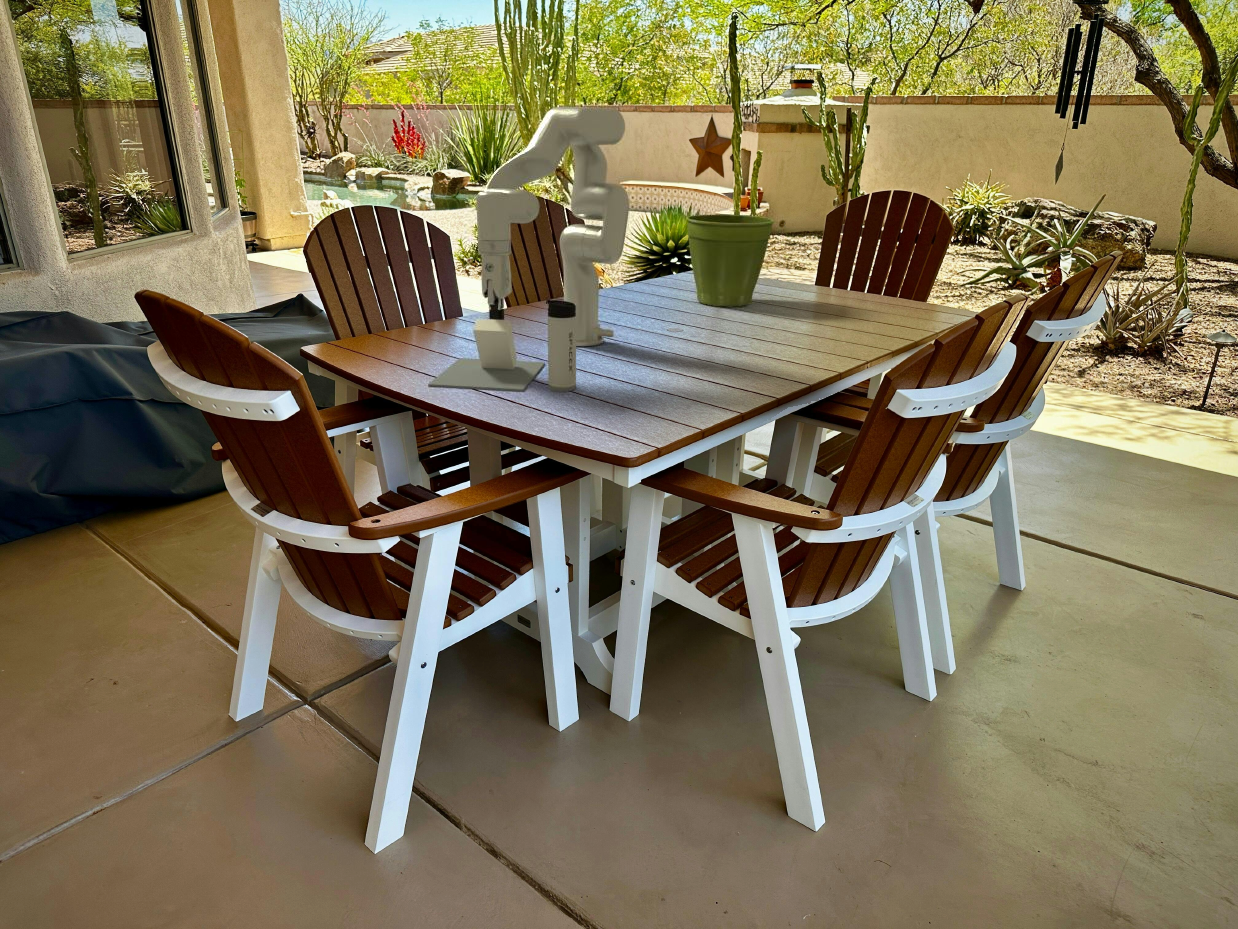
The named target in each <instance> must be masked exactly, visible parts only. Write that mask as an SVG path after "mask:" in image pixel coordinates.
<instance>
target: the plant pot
mask: <svg viewBox="0 0 1238 929" xmlns="http://www.w3.org/2000/svg"><path fill="white" fill-rule="evenodd" d="M685 220H686V222H687V236H688V243H689V253H690V254H689V255H690V260H691V261H690V262H691V268H692V273H693V278H694V279H693V280H694V283H695V288H696V296H697V297H696V299H697V301H698V302H699V303H700V304H703V305H706V304H707V306H711V305H713V307H720V306H738V307H742V306H741V305H745V306H748V305H751V303H752V302H753V295H754V291H755V288H756V285H757V284H758V280H759V277H760V275H761V270H762V268H763V264H764V260H765V256H766V254H767V253H766V252H767V249H768V245H769V239H770V238H771V234H772V228H773V224H774V223H775V220H774V219H773V218H769V217H765V216H764V217H763V216H756V215H745V214H743V215H742V214H696V215H689V216H686V217H685ZM747 304H748V305H747Z"/></svg>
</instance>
